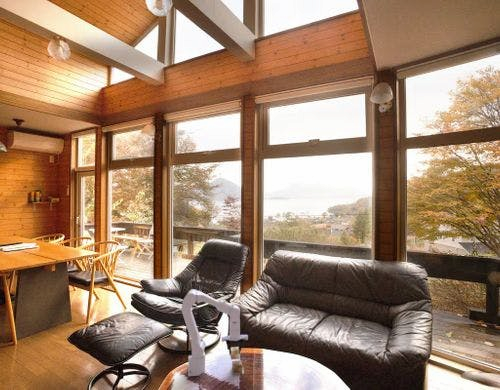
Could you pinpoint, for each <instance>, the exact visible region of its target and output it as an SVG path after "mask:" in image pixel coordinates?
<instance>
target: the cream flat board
mask: <svg viewBox="0 0 500 390" xmlns="http://www.w3.org/2000/svg"><path fill="white" fill-rule="evenodd" d="M229 369H230V374H231V375H240V374H241V375H242V374H245V371H244V367H243V366H242V372H241V373H233V370H232V367H230V368H229Z"/></svg>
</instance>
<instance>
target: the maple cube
mask: <svg viewBox="0 0 500 390" xmlns="http://www.w3.org/2000/svg"><path fill="white" fill-rule="evenodd" d="M229 356H230V360H232V361H234V360H240V354H239V346H231V355H230V354H229Z"/></svg>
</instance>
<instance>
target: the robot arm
mask: <svg viewBox="0 0 500 390" xmlns="http://www.w3.org/2000/svg"><path fill="white" fill-rule="evenodd" d="M196 303H197V304H200V303H206V304H208V305H211V306H213V307H215V308H216V310H217V311H218V312H221V313H223V314H226V315H228V316H229V335H226V336H225V335H224V336H221V343H224V342H225V343H226V346H227V348H228V353H229V356H230V355H231V347H232V343H231V342H232V341H234V342H235V341H236V342H237V341H238V348H239V355H241V352H242V348H243V346H244V344H245V341H247V340H249V335H248V334H241V319H240V315H241V309H240V307H239V306H238V305H237V304H234V303H229V302H228V301H227V300H225V299H220V300H217V299H215V298H214V297H212V296H211V295H208V294H206V293H204V292H203V291H201V290H197V289H194V288H192V289H190V290H189V291H188V292H187V294H185V296H184V298H183V301H182V305H181V314H182V315H183V316H182V317H183V319H184V322H185V325H186V328H187V329H186V330H187V331H188V336H189V338H190V341H191V343H190V347H191V355H188V361H187V363H188V364H187V365H188V366H187V371H188V372H187V376H188V377H193V376H194V377H196V376H198V377H199V376H201V374H204V373H205V372H206V353H205V348H206V342H205V340H204V339H203V337H202V336H201V335H200V333H199V329H198V325H197V323H196V320H195V316H194V313H193V311H192V307H193V306H194V305H195V304H196Z"/></svg>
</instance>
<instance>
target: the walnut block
mask: <svg viewBox="0 0 500 390" xmlns="http://www.w3.org/2000/svg"><path fill="white" fill-rule="evenodd" d="M242 367H243V363H242V360H240V359H238V360H232V362H231V368H232V370H233V373H241V372H242Z"/></svg>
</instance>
